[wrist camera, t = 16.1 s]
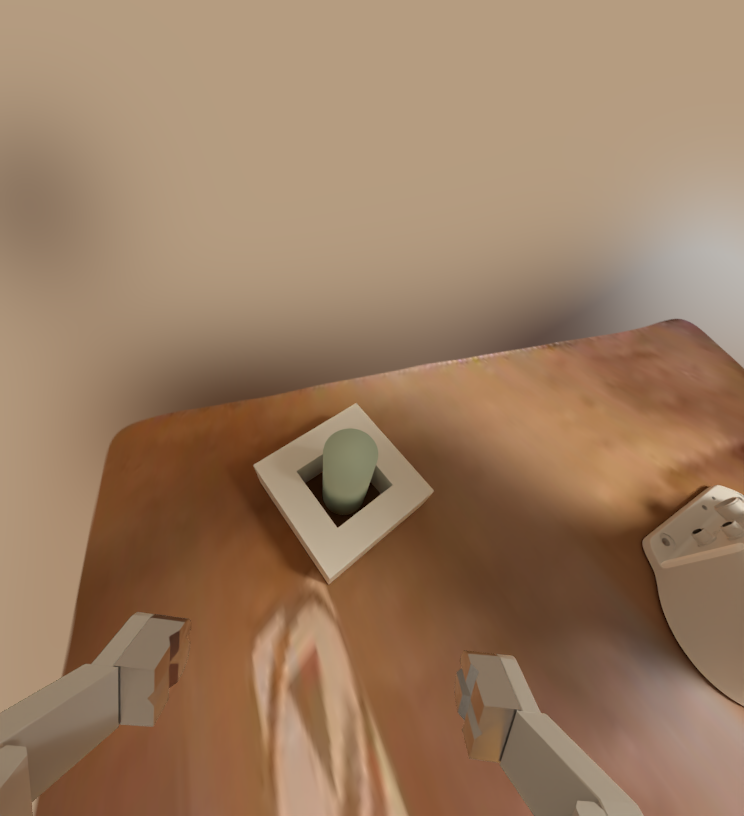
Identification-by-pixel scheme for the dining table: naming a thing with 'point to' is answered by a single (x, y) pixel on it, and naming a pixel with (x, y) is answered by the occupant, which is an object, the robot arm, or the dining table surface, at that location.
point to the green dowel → (347, 469)
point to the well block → (308, 518)
